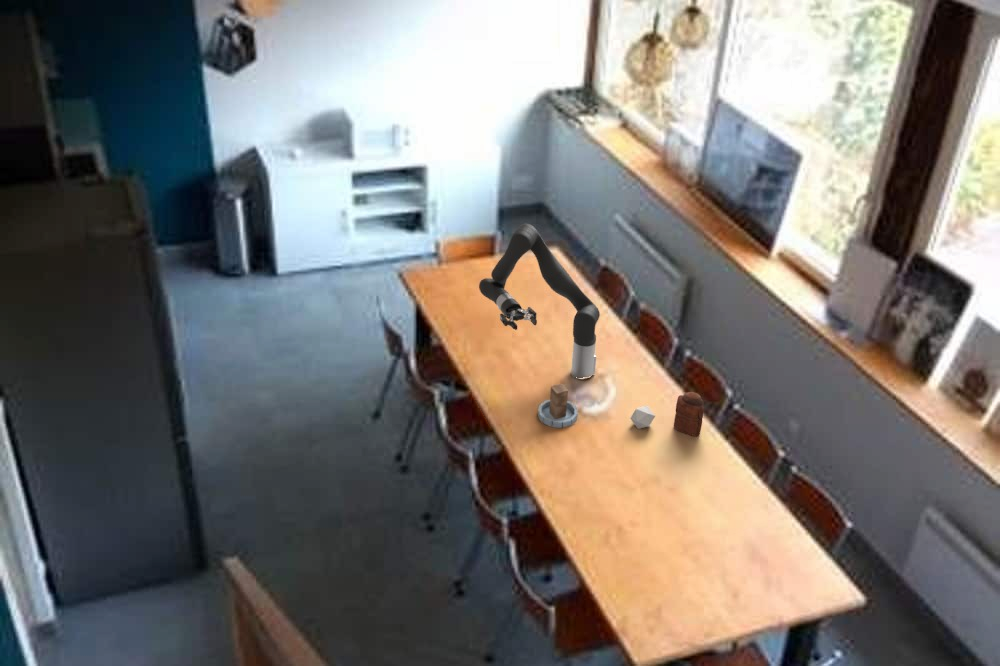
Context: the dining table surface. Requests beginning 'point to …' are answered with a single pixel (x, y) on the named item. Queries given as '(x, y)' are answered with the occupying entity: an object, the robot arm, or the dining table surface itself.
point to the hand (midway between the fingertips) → (526, 325)
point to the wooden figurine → (689, 414)
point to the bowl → (560, 422)
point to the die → (642, 417)
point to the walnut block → (558, 401)
